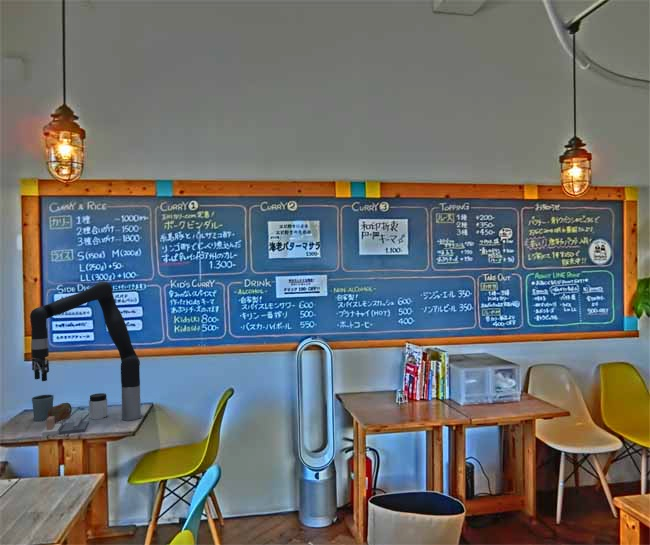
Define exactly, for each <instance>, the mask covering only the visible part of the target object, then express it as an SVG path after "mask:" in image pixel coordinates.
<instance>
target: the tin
mask: <svg viewBox="0 0 650 545" xmlns="http://www.w3.org/2000/svg"><path fill="white" fill-rule="evenodd" d="M72 411H73V409H72V405H71V403H69V402H61V403H60V404H57V405H53V407H51V408H50V409H49V411H48V417H49V416H55V424H57V423H59V421H60V422H61V420H62V421H64V420H66V418H67V419H68V418H70V416H71V414H72ZM63 419H64V420H63ZM56 422H57V423H56Z"/></svg>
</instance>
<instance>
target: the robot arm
mask: <svg viewBox="0 0 650 545" xmlns="http://www.w3.org/2000/svg"><path fill="white" fill-rule="evenodd" d="M113 289H114V288H113V286H112V285H111V283H109V282H107V281H98V282H97V283H96V284H94V285H93V286H91V287H89V288H86V289H85V290H83V291H80V292H78V293H74V294H72V295H68V296H65V297H62V298H60V299H57V300H55V301H52V302H51V303H48V304H45V305H42V306H38V307H36V308H34V309H33V310H31V312H30V318H29V321H30V327H31V333H30V334H31V336H30V337H31V340H30V353H31V354H30V356H31V358H32V359H31V369H32V371H33V373H34V374H33V375H34V380H40V378H41V381H42V382H47V381H48V373H49V372H50V363H49V362H50V361H49V359H47V360H46V358H48V357H49V355H50V351H49V348H50V347H49V339H48V338H49V337H48V336H49V334H48V328H47V319H50V318H52V317H54V316H58V315H61V314H64V313H66V312H69V311H72V310H74V309H77V308H79V307H81V306H82V305H85V304H87V303H90V302H94V301H97V302H98V303H99V305H100V308H101V311H102V315H103V319H104V323H105V327H106V329H107V332H108V334H109V337H110V339H111V340H112V342H113V343H114V344H113V345H115V347H116V349H117V351H118V353H119V358H120V360H121V363H120V383H121V386H120V387H121V420H122V419H123V421H134V420H138V419H141V416H142V413H141V410H142V409H141V406H142V405H141V402H142V401H141V378H140V376H141V374H140V366H141V362H140V358H139V356H138V354H137V353H136V351H135V349H134V347H133V344H132V341H131V337H130V332H129V331H128V327H127V324H126V321H125V319H124V317H123V314H122V313H121V310H120V309H119V308H118V306H117V304H116V300H115V297H114V293H113ZM40 374H41V375H40Z"/></svg>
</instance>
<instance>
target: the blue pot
mask: <svg viewBox="0 0 650 545" xmlns="http://www.w3.org/2000/svg"><path fill="white" fill-rule="evenodd" d="M31 404H32V411H33V412H32V413H33V420H35V422H45V420H47V418H48V411H49V409H50V408H51V407H54V394H40V395H36V396H33V397H31Z"/></svg>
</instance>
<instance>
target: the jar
mask: <svg viewBox="0 0 650 545" xmlns="http://www.w3.org/2000/svg"><path fill="white" fill-rule="evenodd" d="M88 409H89V410H88V415H89V419H90V420H93V419H94V420H101V419H100V418H102V419H104V417H105V418H106V416H107V417H108V398H107V393H105V392H103V393H101V392H99V393H94V394H91V395H89V401H88Z"/></svg>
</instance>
